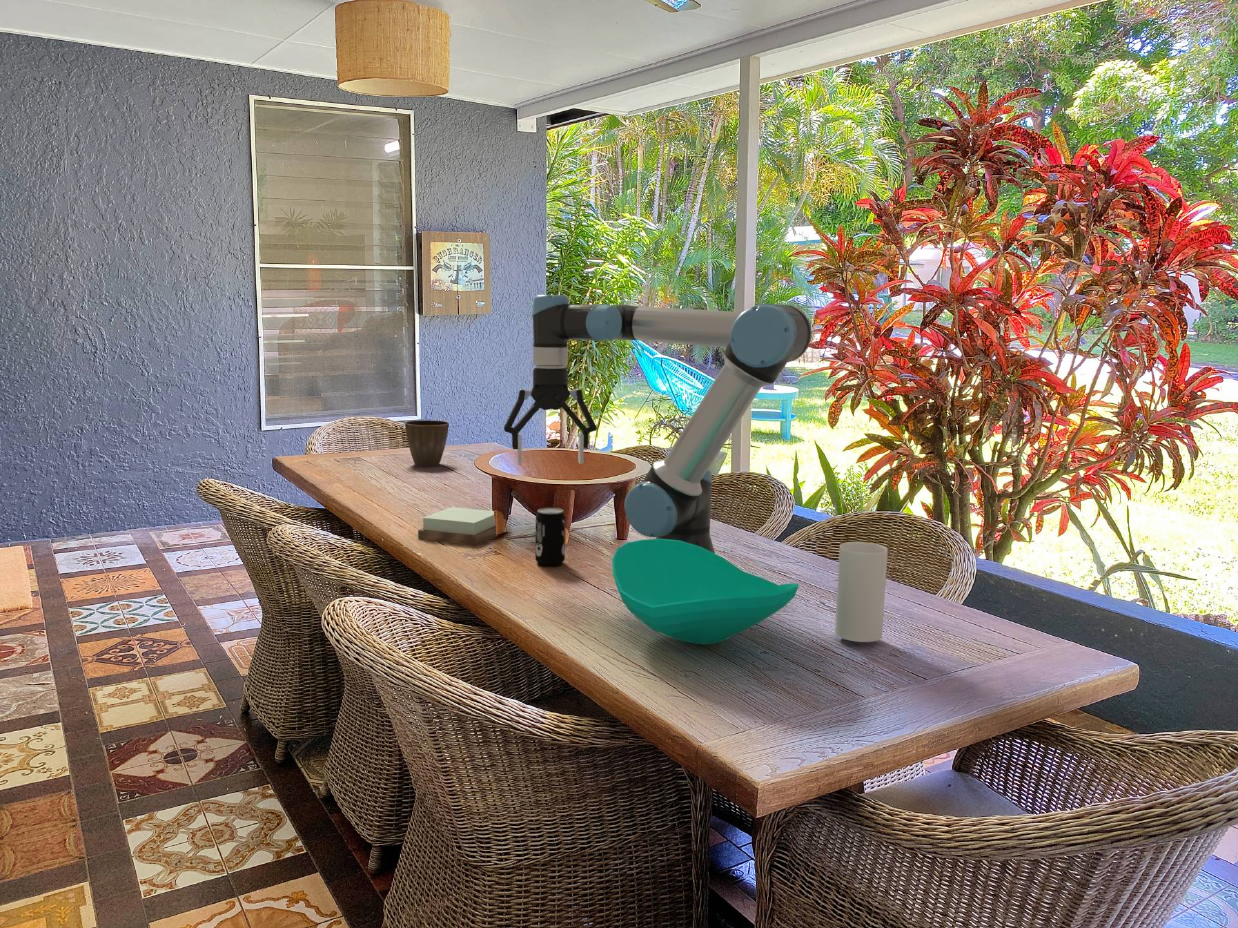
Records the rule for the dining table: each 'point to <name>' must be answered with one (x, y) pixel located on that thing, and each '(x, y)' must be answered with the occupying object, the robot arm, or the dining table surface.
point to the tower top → (460, 521)
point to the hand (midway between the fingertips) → (550, 463)
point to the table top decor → (693, 591)
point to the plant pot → (426, 441)
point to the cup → (861, 591)
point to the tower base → (458, 536)
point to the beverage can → (550, 537)
